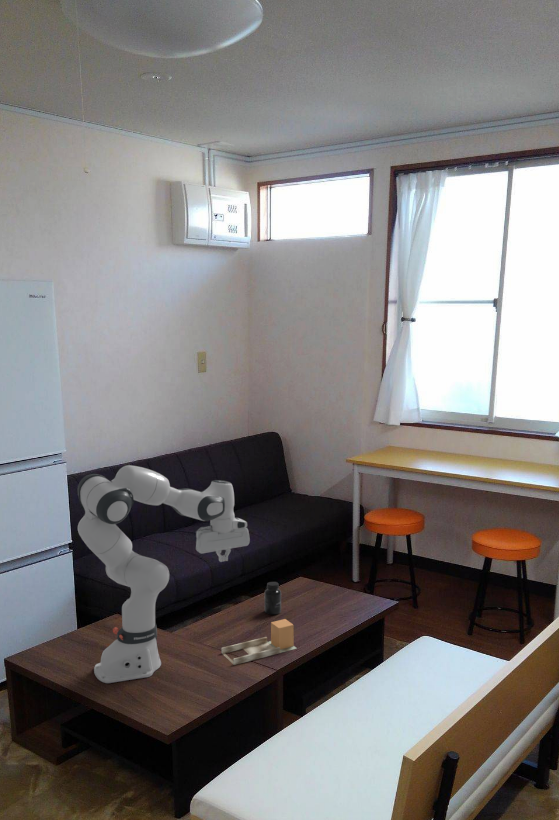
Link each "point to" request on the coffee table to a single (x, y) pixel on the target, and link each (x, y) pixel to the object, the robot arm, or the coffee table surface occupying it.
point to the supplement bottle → (272, 599)
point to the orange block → (282, 634)
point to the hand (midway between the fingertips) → (223, 560)
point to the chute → (254, 650)
